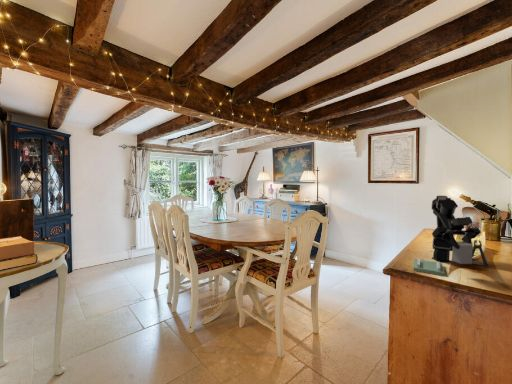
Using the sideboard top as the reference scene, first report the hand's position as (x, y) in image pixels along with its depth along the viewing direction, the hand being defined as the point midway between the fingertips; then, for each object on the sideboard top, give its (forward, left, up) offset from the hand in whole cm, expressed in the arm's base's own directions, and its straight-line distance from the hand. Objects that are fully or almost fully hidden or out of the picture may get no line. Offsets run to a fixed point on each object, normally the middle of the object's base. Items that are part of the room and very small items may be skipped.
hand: (464, 248), depth 112 cm
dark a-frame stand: (-22, -17, -13) cm, 31 cm away
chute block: (0, -1, -7) cm, 7 cm away
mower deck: (+8, -11, -13) cm, 19 cm away
